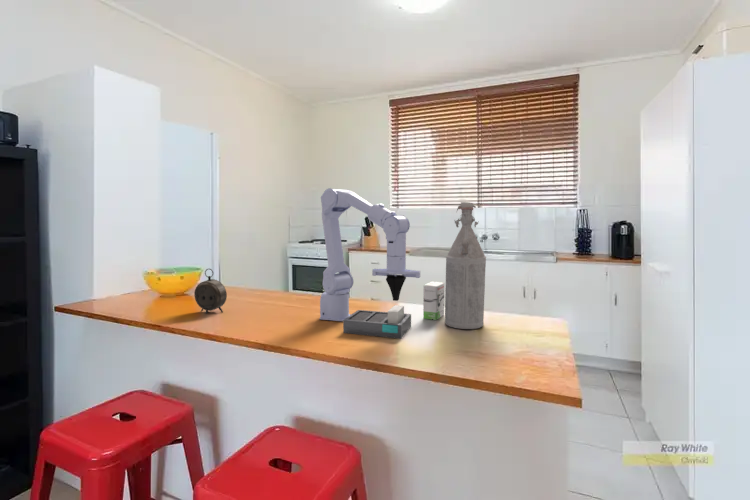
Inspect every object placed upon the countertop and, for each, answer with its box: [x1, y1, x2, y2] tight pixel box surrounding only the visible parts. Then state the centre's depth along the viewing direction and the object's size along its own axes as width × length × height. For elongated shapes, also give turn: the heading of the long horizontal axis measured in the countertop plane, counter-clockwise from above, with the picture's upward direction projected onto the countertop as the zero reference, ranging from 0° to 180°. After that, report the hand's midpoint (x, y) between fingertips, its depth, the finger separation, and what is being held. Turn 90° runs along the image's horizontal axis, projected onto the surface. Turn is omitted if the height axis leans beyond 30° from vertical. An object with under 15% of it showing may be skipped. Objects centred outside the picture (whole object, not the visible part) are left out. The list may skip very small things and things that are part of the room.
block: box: [387, 304, 405, 324], centre depth 120 cm, size 3×8×6 cm, turn 162°
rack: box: [342, 309, 412, 340], centre depth 121 cm, size 18×13×4 cm
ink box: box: [422, 280, 446, 321], centre depth 136 cm, size 9×5×12 cm, turn 151°
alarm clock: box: [194, 268, 228, 314], centre depth 142 cm, size 11×5×16 cm, turn 76°
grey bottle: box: [444, 201, 487, 330], centre depth 126 cm, size 13×17×40 cm
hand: (395, 300), depth 119 cm, fingers closed
